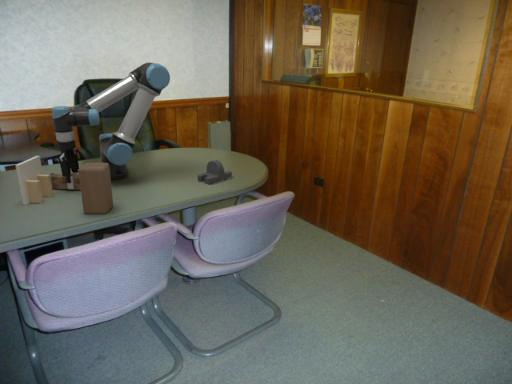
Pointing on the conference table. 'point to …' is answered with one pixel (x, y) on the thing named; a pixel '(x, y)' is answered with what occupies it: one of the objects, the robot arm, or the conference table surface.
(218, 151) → the conference table surface
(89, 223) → the conference table surface
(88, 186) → the wooden block
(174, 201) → the conference table surface
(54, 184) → the rail
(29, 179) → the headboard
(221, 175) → the bracket
